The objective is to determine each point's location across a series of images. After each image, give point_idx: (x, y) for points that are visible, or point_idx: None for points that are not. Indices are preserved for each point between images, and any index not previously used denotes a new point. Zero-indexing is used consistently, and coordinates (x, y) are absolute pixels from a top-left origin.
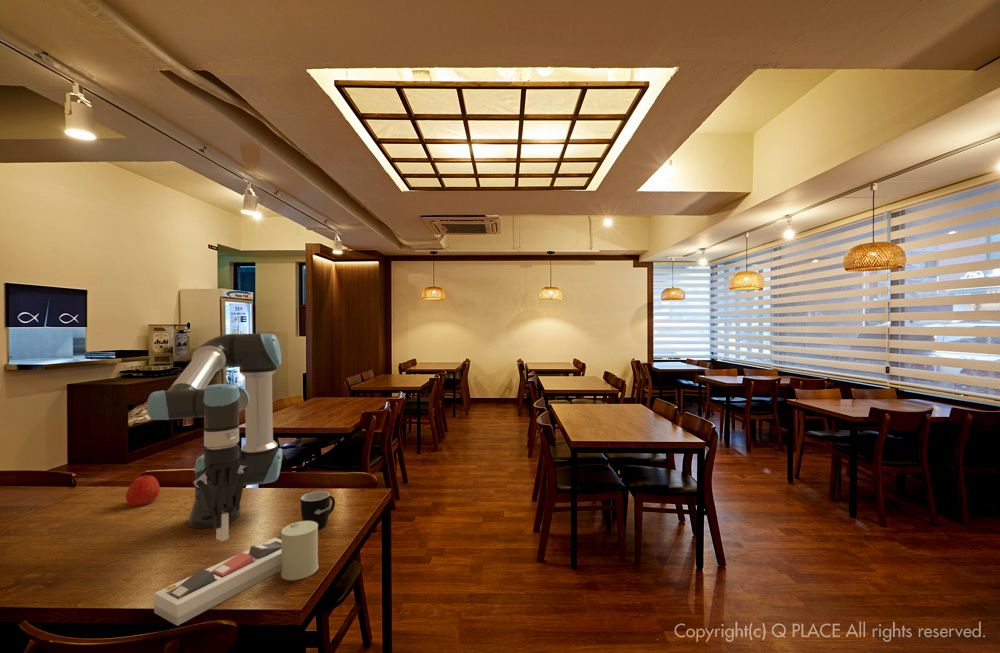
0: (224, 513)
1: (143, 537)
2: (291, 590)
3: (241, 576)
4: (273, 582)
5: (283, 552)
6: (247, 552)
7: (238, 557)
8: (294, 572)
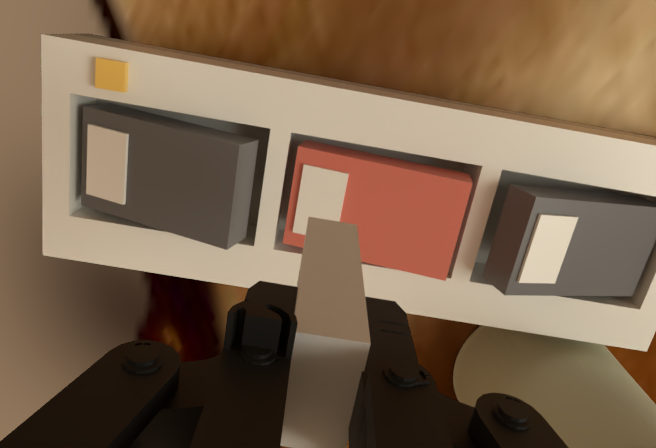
0: (318, 428)
1: None
2: None
3: None
4: (425, 334)
5: None
6: (528, 152)
7: (425, 206)
8: None
